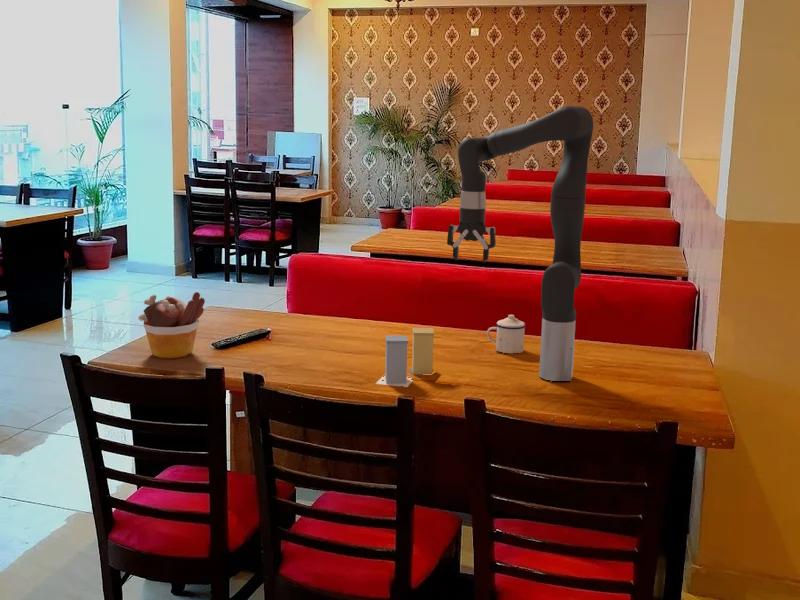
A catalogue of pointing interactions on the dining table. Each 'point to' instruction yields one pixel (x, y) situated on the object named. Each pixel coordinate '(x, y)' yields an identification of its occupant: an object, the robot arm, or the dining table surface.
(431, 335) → the ochre tea tin
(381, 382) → the cream tile
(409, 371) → the felt coaster
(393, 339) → the slate tea tin
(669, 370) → the dining table surface
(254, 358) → the dining table surface
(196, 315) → the bucket of meat
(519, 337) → the teacup with lid
